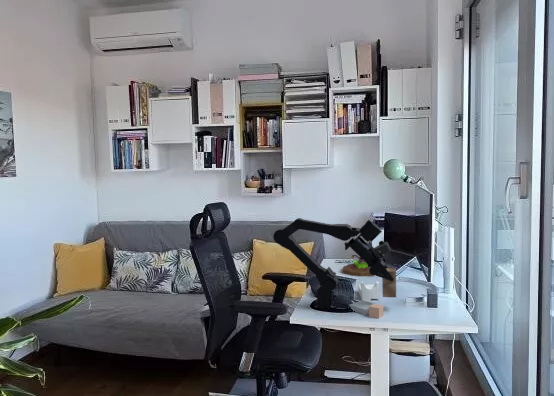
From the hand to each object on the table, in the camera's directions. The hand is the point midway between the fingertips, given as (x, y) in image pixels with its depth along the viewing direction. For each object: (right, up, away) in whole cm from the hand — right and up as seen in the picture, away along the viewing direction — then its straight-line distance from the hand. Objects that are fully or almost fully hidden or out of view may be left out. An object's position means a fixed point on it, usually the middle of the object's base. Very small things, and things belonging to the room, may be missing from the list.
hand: (392, 278), depth 181 cm
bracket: (-5, -12, +21) cm, 24 cm away
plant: (-1, -8, +64) cm, 65 cm away
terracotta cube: (-7, -13, -5) cm, 16 cm away
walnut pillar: (-1, -7, +1) cm, 7 cm away
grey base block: (-11, -13, +3) cm, 17 cm away
